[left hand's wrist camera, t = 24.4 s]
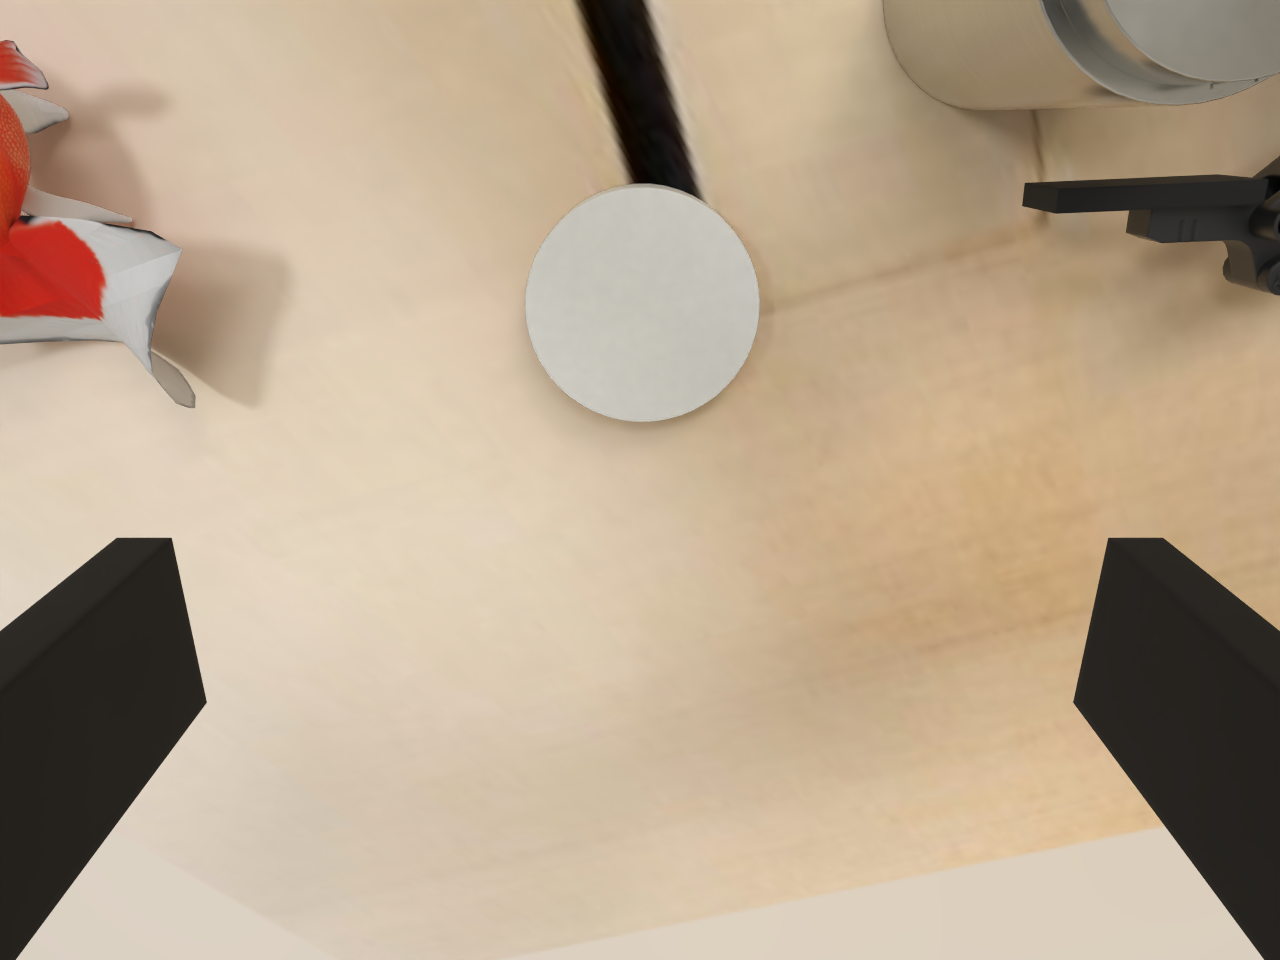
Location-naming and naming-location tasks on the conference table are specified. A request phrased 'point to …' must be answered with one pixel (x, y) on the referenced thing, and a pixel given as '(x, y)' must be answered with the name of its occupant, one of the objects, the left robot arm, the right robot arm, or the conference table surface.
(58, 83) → the conference table surface
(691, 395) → the lid
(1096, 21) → the jar
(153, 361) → the fish
